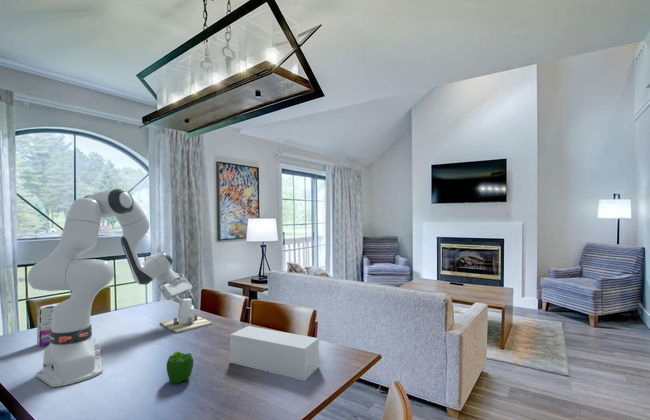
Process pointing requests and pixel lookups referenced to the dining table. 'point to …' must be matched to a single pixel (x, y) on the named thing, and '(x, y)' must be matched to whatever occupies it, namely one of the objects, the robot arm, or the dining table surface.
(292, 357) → the stack of papers
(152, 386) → the dining table surface
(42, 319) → the candy bar box
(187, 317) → the medicine bottle
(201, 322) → the stub cradle
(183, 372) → the bell pepper
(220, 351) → the dining table surface
